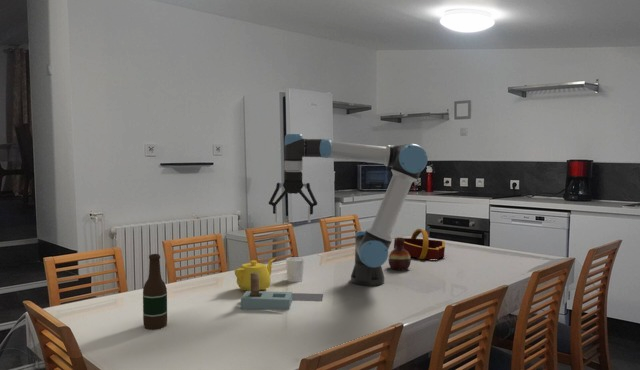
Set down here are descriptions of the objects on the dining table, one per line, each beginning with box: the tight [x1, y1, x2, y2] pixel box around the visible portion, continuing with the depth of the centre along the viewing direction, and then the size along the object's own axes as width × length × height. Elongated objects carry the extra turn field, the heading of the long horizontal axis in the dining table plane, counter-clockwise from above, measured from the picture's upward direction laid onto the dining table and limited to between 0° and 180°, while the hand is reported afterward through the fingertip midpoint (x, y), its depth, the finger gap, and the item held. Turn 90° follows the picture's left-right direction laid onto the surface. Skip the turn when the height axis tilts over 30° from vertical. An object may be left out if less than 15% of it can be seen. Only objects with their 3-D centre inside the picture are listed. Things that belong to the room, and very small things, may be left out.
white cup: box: [285, 256, 305, 283], centre depth 228 cm, size 8×8×10 cm
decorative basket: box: [393, 228, 446, 260], centre depth 290 cm, size 34×29×15 cm
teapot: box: [234, 258, 276, 292], centre depth 213 cm, size 13×20×12 cm
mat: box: [292, 292, 324, 302], centre depth 202 cm, size 14×10×1 cm
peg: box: [251, 273, 260, 297], centre depth 192 cm, size 3×3×12 cm
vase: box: [387, 237, 412, 271], centre depth 254 cm, size 11×11×15 cm
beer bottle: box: [142, 253, 168, 331], centre depth 168 cm, size 8×8×24 cm
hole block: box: [240, 290, 293, 311], centre depth 192 cm, size 18×10×4 cm, turn 87°
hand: (292, 222), depth 213 cm, fingers open, 13 cm apart
